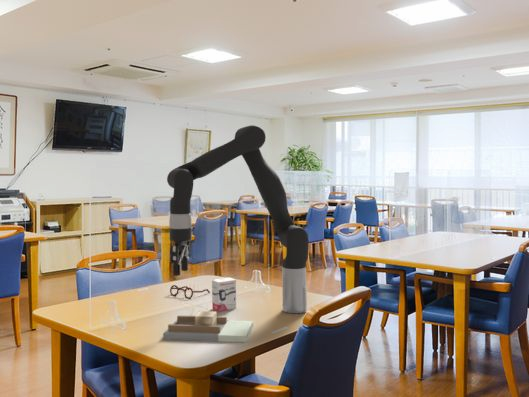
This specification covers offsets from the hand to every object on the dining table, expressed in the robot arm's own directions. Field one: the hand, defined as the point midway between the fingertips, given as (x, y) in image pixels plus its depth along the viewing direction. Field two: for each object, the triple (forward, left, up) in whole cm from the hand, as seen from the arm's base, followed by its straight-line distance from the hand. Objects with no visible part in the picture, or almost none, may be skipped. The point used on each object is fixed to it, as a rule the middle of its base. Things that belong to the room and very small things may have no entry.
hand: (180, 272), depth 179 cm
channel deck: (-11, +4, -20) cm, 23 cm away
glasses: (+10, -48, -20) cm, 54 cm away
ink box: (-10, -26, -20) cm, 34 cm away
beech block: (-10, +4, -18) cm, 20 cm away
